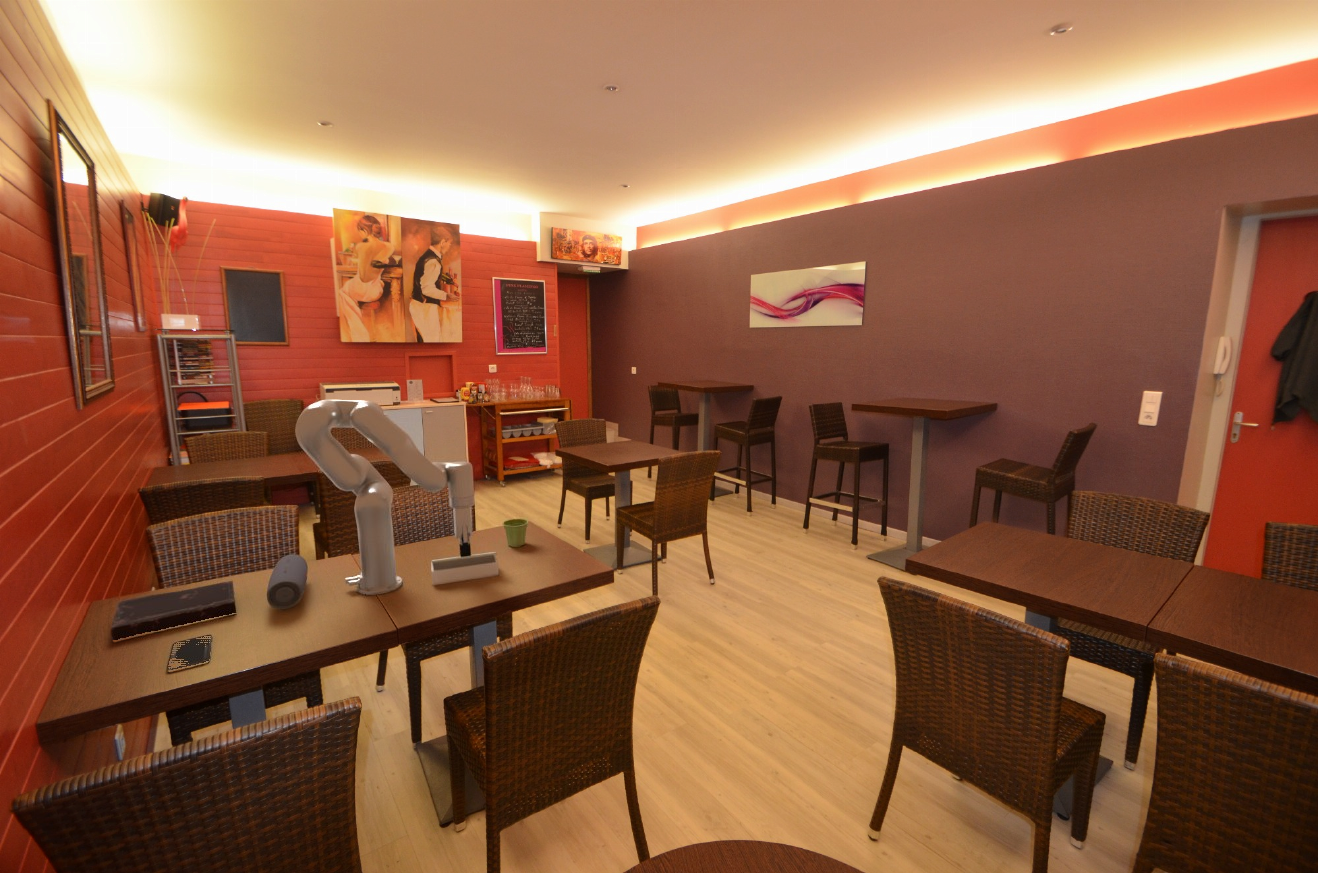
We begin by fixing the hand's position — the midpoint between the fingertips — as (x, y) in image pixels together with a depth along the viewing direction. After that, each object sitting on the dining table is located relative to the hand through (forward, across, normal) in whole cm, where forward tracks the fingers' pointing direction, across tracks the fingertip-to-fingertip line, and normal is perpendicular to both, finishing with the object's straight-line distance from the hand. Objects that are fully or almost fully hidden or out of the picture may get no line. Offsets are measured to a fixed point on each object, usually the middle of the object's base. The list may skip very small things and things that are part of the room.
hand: (465, 555), depth 183 cm
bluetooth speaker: (+7, -4, -50) cm, 50 cm away
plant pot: (+7, -23, +20) cm, 31 cm away
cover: (+1, -1, 0) cm, 1 cm away
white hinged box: (+7, 0, 0) cm, 7 cm away
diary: (+7, -2, -75) cm, 76 cm away
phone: (+7, +23, -66) cm, 70 cm away
